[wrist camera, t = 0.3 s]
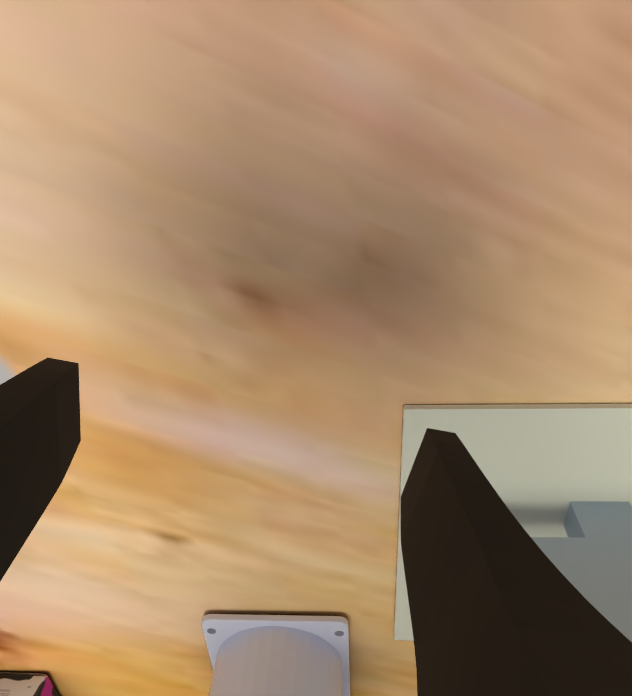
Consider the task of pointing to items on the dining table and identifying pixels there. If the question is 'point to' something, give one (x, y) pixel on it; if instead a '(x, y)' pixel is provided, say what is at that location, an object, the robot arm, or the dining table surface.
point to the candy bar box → (26, 684)
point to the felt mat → (528, 462)
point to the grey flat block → (597, 557)
